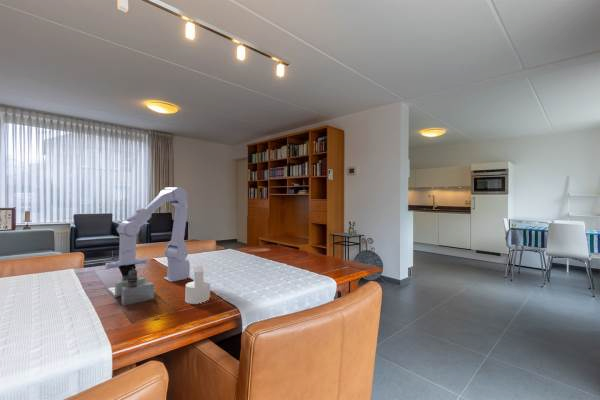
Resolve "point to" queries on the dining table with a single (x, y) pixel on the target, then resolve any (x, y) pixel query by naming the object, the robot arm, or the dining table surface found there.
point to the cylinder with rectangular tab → (197, 288)
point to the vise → (135, 293)
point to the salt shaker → (132, 277)
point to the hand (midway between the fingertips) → (126, 283)
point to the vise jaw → (126, 284)
